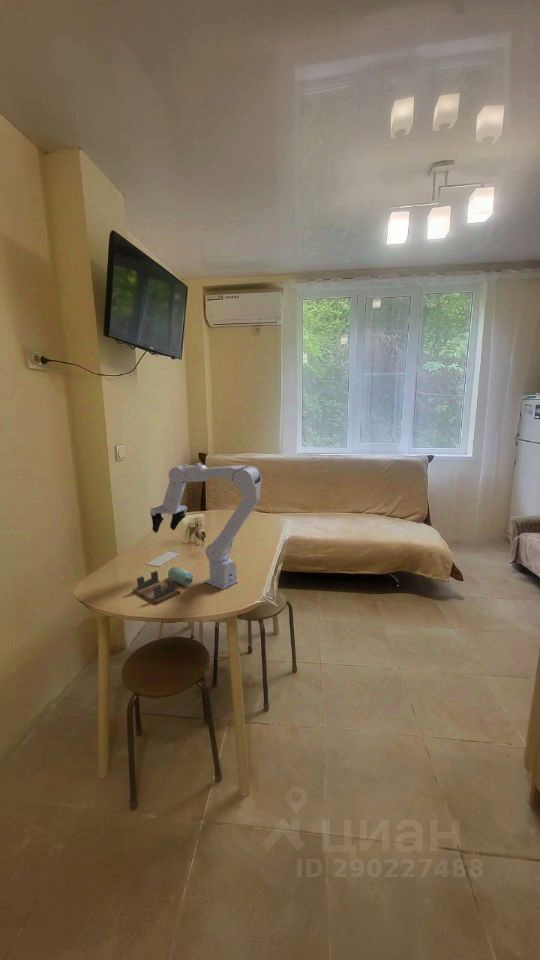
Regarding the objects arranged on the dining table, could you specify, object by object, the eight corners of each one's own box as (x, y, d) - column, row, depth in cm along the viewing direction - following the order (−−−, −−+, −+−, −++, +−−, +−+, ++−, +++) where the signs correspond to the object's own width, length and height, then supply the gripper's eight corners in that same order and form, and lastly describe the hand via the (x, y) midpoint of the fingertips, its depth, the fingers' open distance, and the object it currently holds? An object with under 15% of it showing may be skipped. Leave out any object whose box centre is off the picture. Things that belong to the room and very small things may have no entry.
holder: (180, 593, 122) (179, 579, 121) (157, 604, 115) (156, 590, 114) (156, 581, 130) (155, 568, 130) (133, 591, 124) (132, 577, 123)
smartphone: (181, 553, 157) (159, 566, 143) (181, 554, 157) (159, 567, 143) (168, 551, 160) (145, 564, 146) (168, 552, 160) (145, 565, 146)
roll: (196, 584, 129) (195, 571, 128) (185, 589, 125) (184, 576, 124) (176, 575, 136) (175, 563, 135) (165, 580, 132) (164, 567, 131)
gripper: (183, 491, 138) (173, 522, 141) (149, 492, 126) (140, 526, 130) (194, 500, 134) (184, 531, 138) (160, 502, 122) (151, 536, 126)
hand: (163, 529), depth 134 cm, fingers open, 7 cm apart
